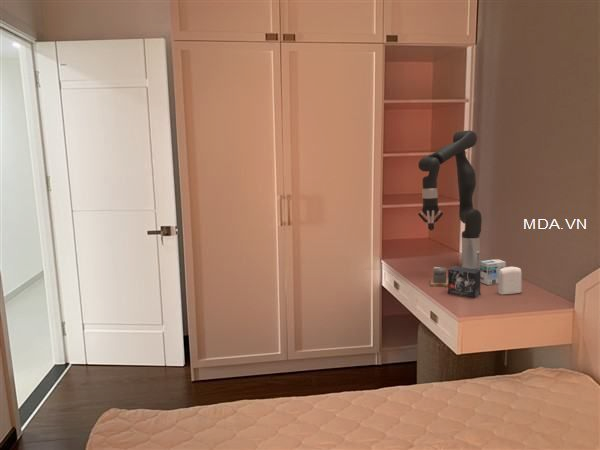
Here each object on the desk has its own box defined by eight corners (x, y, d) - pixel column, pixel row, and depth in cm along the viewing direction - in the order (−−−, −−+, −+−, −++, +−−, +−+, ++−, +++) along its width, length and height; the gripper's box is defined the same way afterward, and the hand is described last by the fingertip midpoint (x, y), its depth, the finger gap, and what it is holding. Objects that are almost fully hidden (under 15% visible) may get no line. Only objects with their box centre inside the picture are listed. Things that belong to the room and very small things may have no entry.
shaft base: (453, 280, 244) (453, 271, 244) (453, 287, 234) (453, 277, 233) (431, 280, 248) (430, 271, 247) (430, 286, 237) (430, 277, 237)
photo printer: (501, 295, 218) (501, 269, 216) (496, 292, 222) (496, 266, 220) (522, 293, 219) (523, 267, 217) (517, 290, 223) (518, 265, 221)
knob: (446, 279, 243) (446, 266, 242) (446, 283, 237) (446, 269, 236) (434, 279, 245) (433, 265, 244) (433, 282, 239) (433, 268, 238)
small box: (447, 293, 225) (447, 269, 223) (454, 290, 230) (453, 265, 228) (475, 298, 216) (475, 273, 214) (481, 294, 221) (481, 269, 219)
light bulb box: (487, 285, 234) (487, 264, 232) (478, 281, 240) (479, 261, 239) (506, 282, 237) (506, 261, 235) (497, 279, 243) (497, 258, 241)
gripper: (443, 195, 246) (444, 228, 248) (416, 196, 249) (418, 229, 252) (443, 197, 238) (444, 231, 241) (416, 198, 242) (417, 231, 245)
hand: (431, 230), depth 247 cm, fingers closed
